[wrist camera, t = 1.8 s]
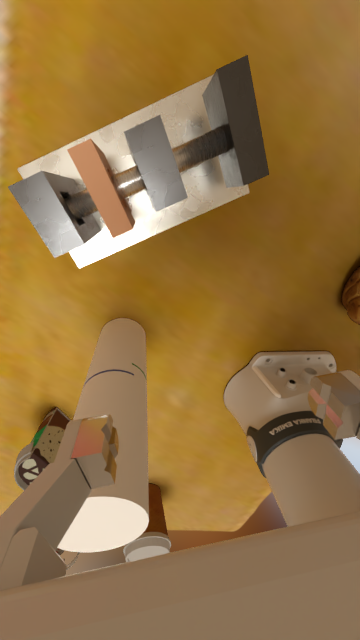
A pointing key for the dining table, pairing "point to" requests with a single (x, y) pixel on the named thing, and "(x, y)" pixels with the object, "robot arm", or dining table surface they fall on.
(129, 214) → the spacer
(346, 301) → the bread roll
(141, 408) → the cylindrical container
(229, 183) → the shaft
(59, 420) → the food container
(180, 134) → the shaft frame
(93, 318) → the dining table surface
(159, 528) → the disposable coffee cup
